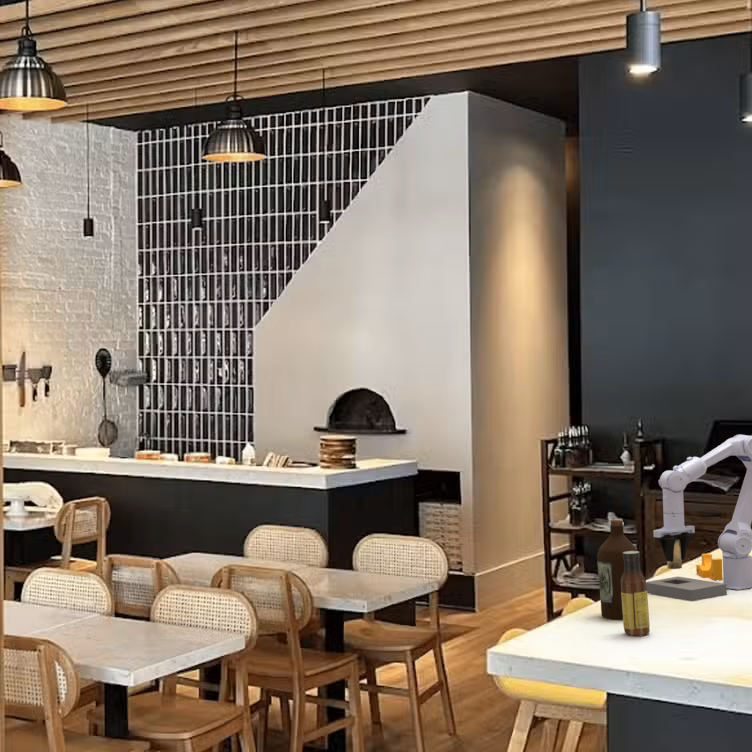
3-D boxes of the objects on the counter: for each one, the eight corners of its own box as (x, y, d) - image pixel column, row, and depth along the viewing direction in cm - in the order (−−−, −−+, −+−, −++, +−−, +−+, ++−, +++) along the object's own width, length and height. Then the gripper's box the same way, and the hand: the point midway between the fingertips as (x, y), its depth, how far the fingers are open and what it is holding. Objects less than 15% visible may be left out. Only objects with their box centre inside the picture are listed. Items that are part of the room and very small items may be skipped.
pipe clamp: (696, 575, 384) (695, 554, 384) (710, 574, 384) (709, 553, 384) (708, 581, 372) (707, 559, 372) (722, 581, 372) (721, 559, 372)
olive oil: (628, 611, 330) (624, 516, 330) (648, 618, 320) (645, 520, 320) (591, 614, 327) (588, 519, 327) (611, 622, 317) (607, 523, 317)
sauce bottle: (651, 631, 304) (648, 550, 304) (648, 637, 298) (645, 553, 298) (624, 630, 306) (621, 549, 306) (620, 636, 300) (617, 553, 300)
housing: (678, 586, 364) (678, 576, 364) (726, 594, 349) (726, 583, 349) (643, 592, 356) (643, 582, 356) (691, 601, 341) (691, 590, 341)
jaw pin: (675, 566, 359) (674, 538, 359) (684, 568, 356) (683, 539, 356) (664, 567, 357) (663, 539, 358) (673, 569, 354) (672, 541, 354)
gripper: (681, 509, 364) (682, 556, 364) (645, 513, 356) (646, 561, 356) (699, 511, 358) (701, 558, 358) (663, 515, 350) (664, 564, 350)
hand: (675, 560), depth 356 cm, fingers closed on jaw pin, 4 cm apart
